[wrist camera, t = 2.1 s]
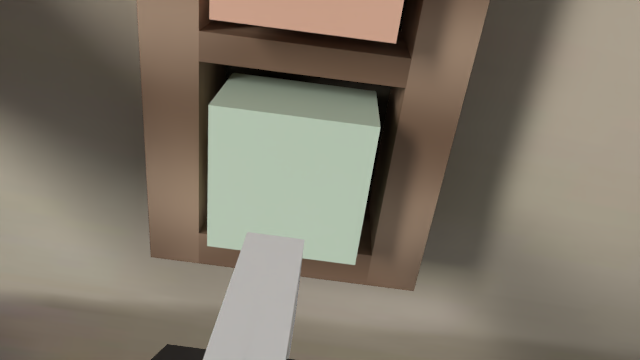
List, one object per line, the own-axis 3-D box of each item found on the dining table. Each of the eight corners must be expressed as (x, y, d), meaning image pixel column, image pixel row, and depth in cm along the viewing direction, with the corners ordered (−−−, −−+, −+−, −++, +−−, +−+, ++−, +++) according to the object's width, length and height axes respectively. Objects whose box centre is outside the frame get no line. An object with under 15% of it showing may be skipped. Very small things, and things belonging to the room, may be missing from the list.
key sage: (232, 72, 19) (208, 105, 16) (376, 91, 19) (380, 127, 16) (228, 196, 21) (207, 246, 18) (354, 212, 21) (355, 265, 18)
